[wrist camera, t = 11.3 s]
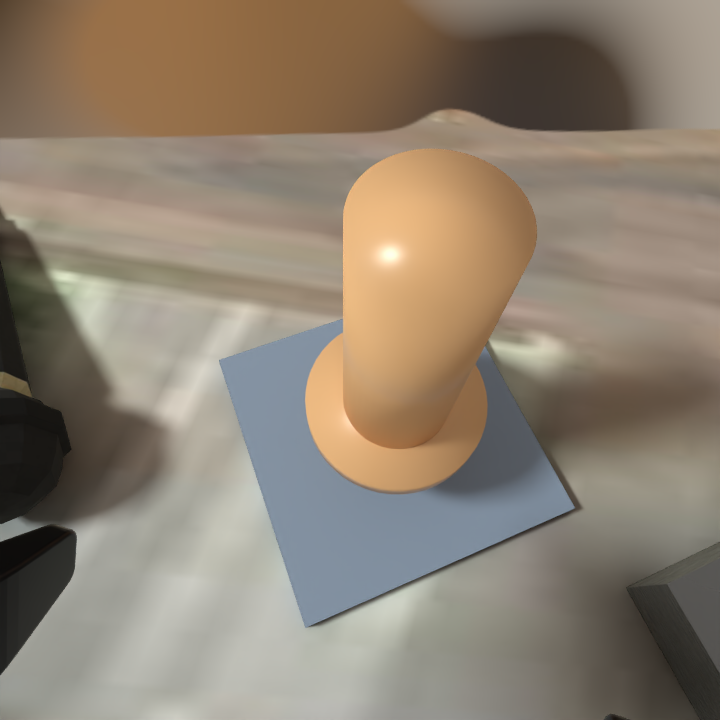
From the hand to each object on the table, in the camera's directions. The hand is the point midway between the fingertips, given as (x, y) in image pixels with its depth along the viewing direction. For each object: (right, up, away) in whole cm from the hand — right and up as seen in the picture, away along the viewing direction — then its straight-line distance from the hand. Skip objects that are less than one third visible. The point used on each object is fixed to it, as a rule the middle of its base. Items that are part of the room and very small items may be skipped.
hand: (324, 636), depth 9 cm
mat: (+2, +1, +16) cm, 16 cm away
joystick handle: (+2, +1, +15) cm, 15 cm away
